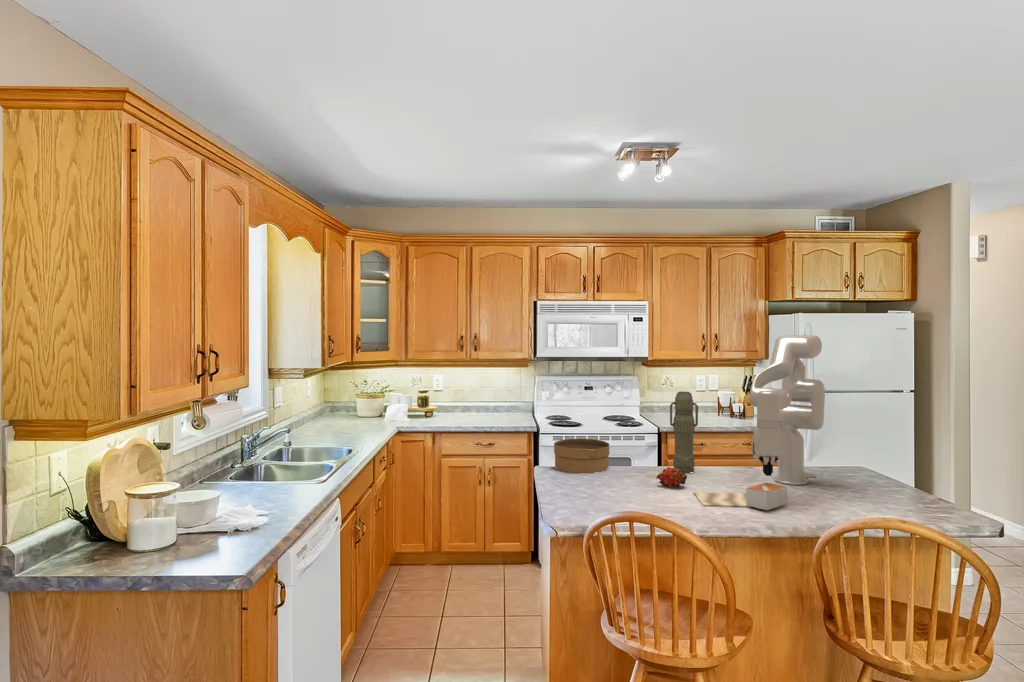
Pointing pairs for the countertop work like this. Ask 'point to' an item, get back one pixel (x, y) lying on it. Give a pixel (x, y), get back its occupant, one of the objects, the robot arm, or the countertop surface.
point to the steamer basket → (581, 455)
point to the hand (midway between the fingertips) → (767, 474)
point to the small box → (766, 496)
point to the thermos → (684, 431)
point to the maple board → (722, 499)
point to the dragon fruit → (672, 477)
